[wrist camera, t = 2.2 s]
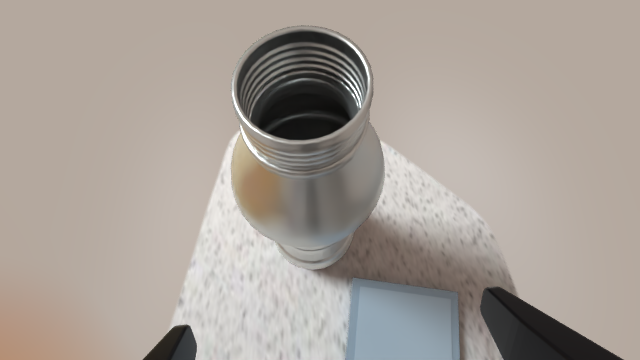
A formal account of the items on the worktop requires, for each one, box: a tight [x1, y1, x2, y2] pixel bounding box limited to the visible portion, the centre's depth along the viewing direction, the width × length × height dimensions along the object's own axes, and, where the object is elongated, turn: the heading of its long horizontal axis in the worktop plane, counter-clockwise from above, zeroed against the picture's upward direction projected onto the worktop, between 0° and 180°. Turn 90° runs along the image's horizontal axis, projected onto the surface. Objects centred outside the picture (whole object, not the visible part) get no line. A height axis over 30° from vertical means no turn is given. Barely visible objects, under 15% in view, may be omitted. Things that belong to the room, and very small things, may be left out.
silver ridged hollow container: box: [231, 25, 385, 270], centre depth 17 cm, size 6×7×20 cm
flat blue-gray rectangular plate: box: [345, 278, 460, 360], centre depth 23 cm, size 9×8×1 cm
